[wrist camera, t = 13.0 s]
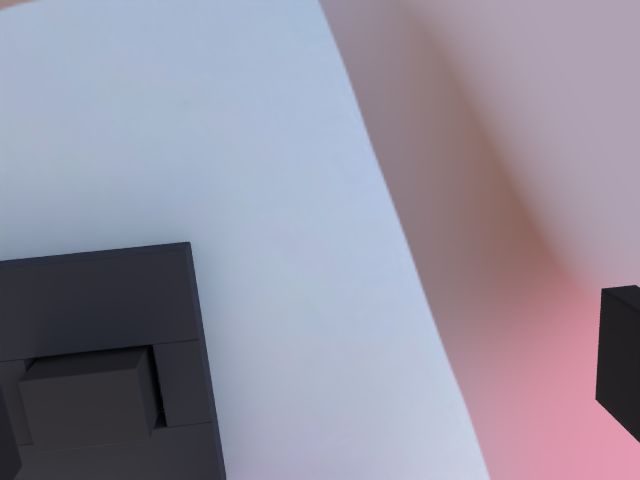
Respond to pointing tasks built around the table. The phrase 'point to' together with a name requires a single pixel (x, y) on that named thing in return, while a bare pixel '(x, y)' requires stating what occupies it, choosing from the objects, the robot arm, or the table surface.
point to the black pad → (91, 398)
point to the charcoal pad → (109, 333)
